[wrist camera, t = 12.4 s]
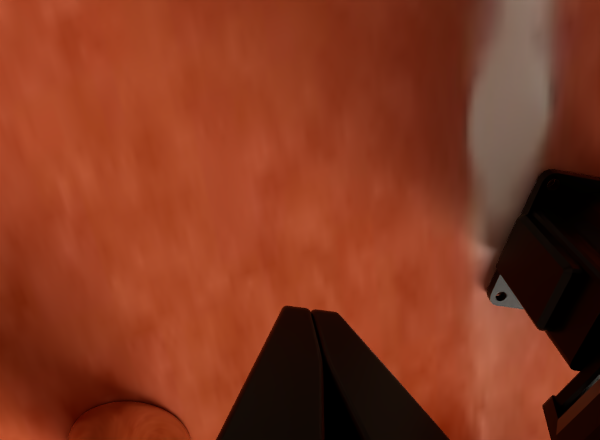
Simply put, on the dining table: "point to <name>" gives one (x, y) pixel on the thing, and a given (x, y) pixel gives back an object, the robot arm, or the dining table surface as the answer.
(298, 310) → the robot arm
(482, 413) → the dining table surface
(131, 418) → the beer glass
